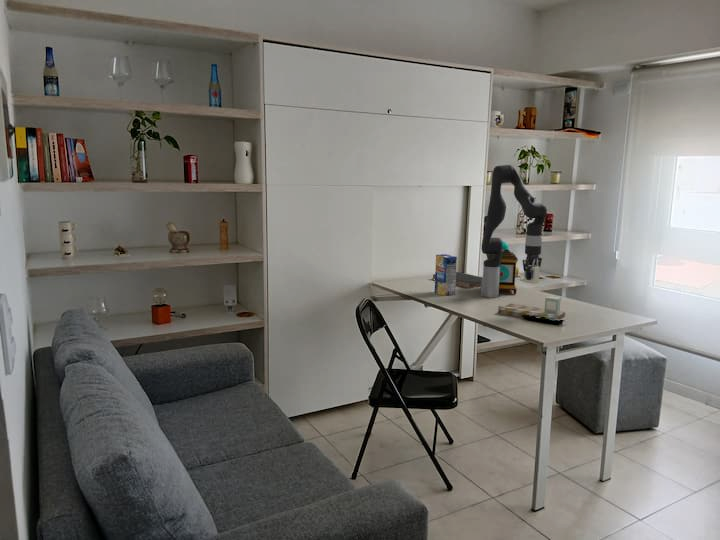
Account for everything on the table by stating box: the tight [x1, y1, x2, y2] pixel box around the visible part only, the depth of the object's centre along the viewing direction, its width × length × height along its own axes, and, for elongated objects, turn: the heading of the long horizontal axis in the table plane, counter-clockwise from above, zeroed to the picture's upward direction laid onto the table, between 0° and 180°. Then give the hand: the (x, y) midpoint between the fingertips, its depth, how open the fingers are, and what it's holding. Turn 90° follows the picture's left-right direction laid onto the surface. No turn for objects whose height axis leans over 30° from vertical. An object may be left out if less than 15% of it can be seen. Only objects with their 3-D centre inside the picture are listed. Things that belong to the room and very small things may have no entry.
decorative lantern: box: [485, 240, 519, 295], centre depth 326 cm, size 20×20×30 cm
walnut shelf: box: [497, 302, 566, 320], centre depth 275 cm, size 28×16×4 cm, turn 53°
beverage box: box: [434, 253, 458, 297], centre depth 318 cm, size 7×11×22 cm, turn 26°
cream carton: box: [523, 266, 541, 285], centre depth 273 cm, size 6×4×8 cm
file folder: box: [432, 271, 483, 289], centre depth 355 cm, size 33×4×24 cm
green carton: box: [544, 295, 562, 316], centre depth 269 cm, size 6×4×8 cm
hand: (531, 279), depth 273 cm, fingers closed on cream carton, 4 cm apart
